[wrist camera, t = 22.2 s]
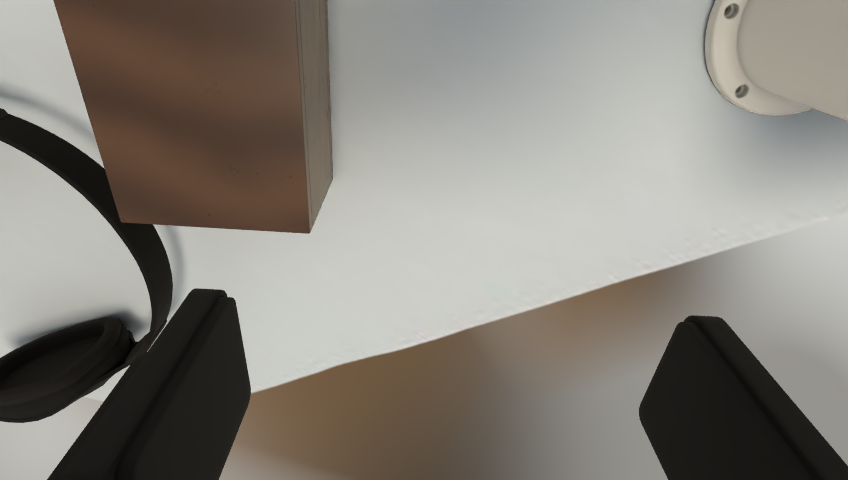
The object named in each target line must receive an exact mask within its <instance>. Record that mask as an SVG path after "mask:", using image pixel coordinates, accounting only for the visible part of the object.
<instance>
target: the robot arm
mask: <svg viewBox="0 0 848 480" xmlns="http://www.w3.org/2000/svg"><path fill="white" fill-rule="evenodd" d="M726 8H727V11H726V13H725V9H726ZM705 57H706V63H707V69H708V72H709V74H710V77H711V79H712V81H713V84H714V85H715V86H716V88H717V89H718V90H719V92H720V93H721V94H722V96H724V97H725V98H726V99H728V100H729V101H730V102H731V103H733V104H734V105H737V106H739V107H741V108H743V109H745V110H747V111H750V112H754V113H757V114H760V115H770V116H783V115H791V114H797V113H801V112H804V111H808V110H811V109H817V110H819V111H822V112H825V113H827V114H830V115H833V116H836V117H838V118H841V119H844V120H846V121H848V0H715V3H714V5H713V8H712V10H711V13H710V16H709V21H708V25H707V30H706V35H705ZM250 394H251V387H250V381H249V375H248V370H247V364H246V358H245V353H244V347H243V341H242V336H241V330H240V324H239V319H238V313H237V307H236V302H235V300H234V298H231V297H227V294H226V292H225V291H224V290H214V289H193V290H192V291H191V292H190V293H189V294H188V296H187V297H186V299H185V300H184V301H183V303H182V304H181V306H180V307H179V308H178V310H177V311H176V313H175V314H174V315H173V317H172V318H171V320H170V321H169V323H168V324H167V325H166V327H165V328H164V330H163V331H162V332H161V334H160V335H159V337H158V338H157V339H156V341H155V342H154V344H153V345H152V346H151V348H150V349H149V351H148V352H144V353H142V354H140V355H139V356H138V357H137V358H136V359H135V360H134V361H133V362H132V364H131V365H130V367H129V368H128V369H127V371H126V372H125V373H124V375H123V376H122V378H121V379H120V380H119V382H118V383H117V384H116V386H115V387H114V389H113V390H112V391H111V393H110V394H109V395H108V397H107V398H106V400H105V401H104V402H103V404H102V405H101V406H100V408H99V409H98V411H97V412H96V413H95V415H94V416H93V417H92V419H91V420H90V422H89V423H88V424H87V426H86V427H85V428H84V430H83V431H82V433H81V434H80V435H79V437H78V438H77V439H76V441H75V442H74V443H73V445H72V446H71V448H70V449H69V450H68V452H67V453H66V454H65V456H64V457H63V459H62V460H61V461H60V463H59V464H58V465H57V467H56V468H55V470H54V471H53V472H52V474H51V475H50V476H49V478H48V479H47V480H219V477H220V475H221V472H222V469H223V467H224V465H225V462H226V460H227V457H228V455H229V452H230V450H231V447H232V444H233V442H234V440H235V437H236V434H237V432H238V429H239V427H240V424H241V422H242V419H243V416H244V414H245V412H246V409H247V407H248V404H249V400H250ZM639 417H640V421H641V423H642V426H643V427H644V430H645V432H646V434H647V436H648V438H649V440H650V442H651V444H652V447H653V449H654V451H655V453H656V455H657V457H658V459H659V461H660V463H661V465H662V468H663V469H664V472H665V474H666V476H667V478H668V480H848V466H847V465H846V464H845V462H844V461H843V460H842V459H841V458H840V456H839V455H838V454H837V453H836V452H835V450H834V449H833V448H832V447H831V446H830V445H829V443H828V442H827V441H826V440H825V439H824V437H823V436H822V435H821V434H820V433H819V432H818V430H817V429H816V428H815V427H814V426H813V425H812V423H811V422H810V421H809V420H808V419H807V418H806V416H805V415H804V414H803V413H802V412H801V410H800V409H799V408H798V407H797V406H796V404H795V403H794V402H793V401H792V400H791V399H790V397H789V396H788V395H787V394H786V393H785V391H783V389H782V388H781V387H780V386H779V384H778V383H777V382H776V381H775V380H774V378H773V377H772V376H771V375H770V374H769V373H768V371H767V370H766V369H765V368H764V367H763V366H762V364H761V363H760V362H759V361H758V360H757V358H756V357H755V356H754V355H753V354H752V352H751V351H750V350H749V349H748V348H747V347H746V345H745V344H744V343H743V342H742V341H741V340H740V339H739V338H738V336H737V335H736V334H735V332H734V331H733V330H732V329H731V328H730V327H729V325H728V324H727V323H726V322H725V321H724V320H723V319H722V318H719V317H712V316H711V317H710V316H688V317H687V318H686V319H685V320H684V322H680V323H679V324H678V325H677V326H676V328H675V331H674V333H673V335H672V337H671V339H670V341H669V343H668V346H667V348H666V350H665V352H664V354H663V356H662V359H661V361H660V363H659V365H658V367H657V369H656V372H655V374H654V376H653V378H652V380H651V383H650V385H649V387H648V389H647V391H646V393H645V395H644V398H643V400H642V402H641V404H640V408H639Z"/></svg>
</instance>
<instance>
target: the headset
mask: <svg viewBox="0 0 848 480" xmlns="http://www.w3.org/2000/svg"><path fill="white" fill-rule="evenodd" d="M0 141H3V142H5V143H7V144H9V145H11V146H13V147H15V148H16V149H18V150H20V151H22V152H24V153H26V154H27V155H29V156H30V157H32V158H34V159H35V160H37V161H39V162H40V163H42V164H43V165H45V166H46V167H47V168H49V169H50V170H52V171H53V172H55V173H56V174H57V175H59V176H60V177H61V178H62V179H64V180H65V181H66V182H68V183H69V184H70V185H71V186H73V187H74V188H75V189H76V190H77V191H78V192H80V193H81V194H82V195H83V196H84V197H85V198H86V199H87V200H88V201H89V202H90V203H91V204H92V205H93V206H94V207H95V208H96V209H97V210H98V211H99V212H100V213H101V214H102V215H103V216H104V218H105V219H106V220H107V221H108V222H109V223H110V225H111V226H112V227H113V228H114V230H115V231H116V232H117V234H118V235H119V236H120V238H121V239H122V240H123V242H124V243H125V245H126V246H127V247H128V249H129V250H130V252H131V254H132V255H133V257H134V259H135V260H136V262H137V264H138V266H139V268H140V270H141V272H142V274H143V277H144V279H145V282H146V285H147V288H148V292H149V295H150V301H151V307H152V320H151V327H150V332H149V333H148V334H147V335H145V336H144V337H143V338H142V339H141V340H140V341H139V342H135V340H134V338H133V335H132V332H131V331H130V330H127V328H126V327H124V326H121V323H120V321H119V320H118V319H116V318H114V317H110V318H103V319H99V320H95V321H91V322H87V323H83V324H79V325H76V326H72V327H69V328H66V329H63V330H60V331H57V332H54V333H51V334H48V335H46V336H43V337H41V338H38V339H36V340H34V341H32V342H29V343H27V344H25V345H23V346H21V347H19V348H17V349H15V350H13V351H12V352H10V353H8V354H6V355H5V356H3V357H1V358H0V421H4V422H15V423H16V422H17V423H24V422H32V421H38V420H41V419H44V418H46V417H49V416H52V415H53V414H55V413H57V412H59V411H60V410H62V409H64V408H65V407H67V406H69V405H70V404H71V403H73V402H74V401H76V400H78V399H79V398H81V397H83V396H85V395H87V394H89V393H91V392H92V391H94V390H96V389H98V388H99V387H101V386H103V385H104V384H105V383H106V382H107V381H108V379H109V378H111V377H112V376H113V375H114V374H115V373H117V372H119V371H120V370H122V369H124V368H125V367H127V366H129V365H131V364H132V362H133V361H134V360H135V359H136V358H137V357H138V356H139V355H140V354H142V353H144V352H147V351H148V350H149V348H150V347H151V345H152V344H153V342H154V341H155V339H156V338H157V336H158V335H159V333H160V332H161V330H162V329H163V328H164V326H165V324H166V322H167V320H166V319H167V317H168V314H169V311H170V307H171V301H172V290H173V282H172V273H171V269H170V264H169V260H168V257H167V254H166V251H165V248H164V246H163V244H162V241H161V239H160V237H159V235H158V233H157V231H156V229H155V227H154V226H153V224H140V223H124V222H121V220H120V217H119V214H118V211H117V207H116V204H115V201H114V197H113V194H112V191H111V188H110V184H109V181H108V178H107V174H106V171H105V169H104V168H103V167H102V166H100V165H99V164H98V163H97V162H95V161H94V160H93V159H91V158H90V157H89V156H88V155H86V154H85V153H83V152H82V151H80V150H79V149H77V148H76V147H75V146H73V145H72V144H70V143H68V142H67V141H65V140H63V139H62V138H60V137H58V136H56V135H55V134H53V133H51V132H49V131H47V130H45V129H43V128H41V127H39V126H37V125H34V124H32V123H30V122H28V121H26V120H23V119H21V118H18V117H15V116H13V115H10V114H8V113H7V112H6V111H5V110H4V109H1V108H0Z"/></svg>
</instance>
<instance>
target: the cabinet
mask: <svg viewBox="0 0 848 480" xmlns="http://www.w3.org/2000/svg"><path fill="white" fill-rule="evenodd" d="M54 3H55V7H56V10H57V13H58V17H59V20H60V23H61V26H62V30H63V33H64V36H65V40H66V43H67V46H68V49H69V53H70V56H71V59H72V63H73V66H74V69H75V72H76V76H77V79H78V82H79V86H80V89H81V92H82V95H83V99H84V102H85V105H86V109H87V112H88V115H89V118H90V122H91V125H92V128H93V132H94V135H95V138H96V142H97V145H98V148H99V151H100V155H101V158H102V161H103V165H104V168H105V171H106V174H107V178H108V181H109V184H110V188H111V191H112V194H113V197H114V201H115V204H116V207H117V211H118V214H119V217H120V220H121V222H124V223H140V224H157V225H174V226H191V227H208V228H225V229H241V230H258V231H275V232H292V233H310V232H311V230H312V227H313V225H314V222H315V220H316V218H317V215H318V213H319V210H320V208H321V206H322V203H323V201H324V199H325V196H326V194H327V191H328V189H329V187H330V184H331V182H332V179H333V170H332V139H331V109H330V79H329V49H328V19H327V0H54Z"/></svg>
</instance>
